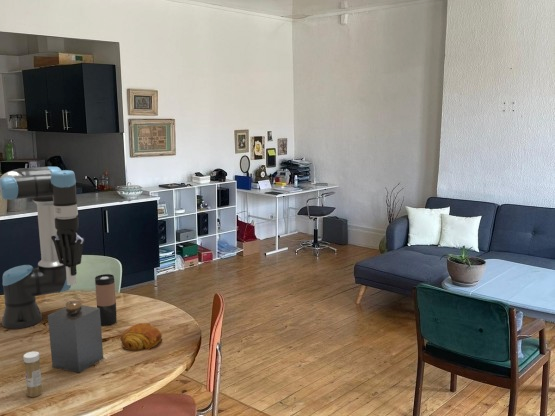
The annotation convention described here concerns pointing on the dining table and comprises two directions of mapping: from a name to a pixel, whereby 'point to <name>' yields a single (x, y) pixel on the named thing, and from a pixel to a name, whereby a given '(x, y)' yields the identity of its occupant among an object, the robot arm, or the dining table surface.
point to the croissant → (141, 337)
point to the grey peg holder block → (75, 338)
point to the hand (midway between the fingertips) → (71, 283)
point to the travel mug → (106, 299)
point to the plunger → (73, 306)
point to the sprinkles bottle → (33, 374)
